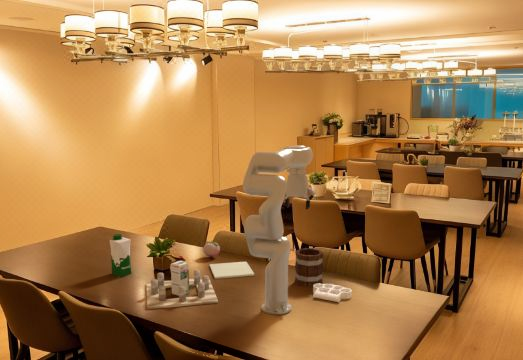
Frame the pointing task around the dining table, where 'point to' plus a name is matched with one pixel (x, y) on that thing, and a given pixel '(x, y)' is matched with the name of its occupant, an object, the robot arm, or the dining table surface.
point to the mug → (308, 267)
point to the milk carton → (120, 255)
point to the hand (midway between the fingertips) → (297, 208)
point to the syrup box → (179, 276)
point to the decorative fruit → (211, 249)
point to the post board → (175, 301)
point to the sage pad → (231, 270)
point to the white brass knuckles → (331, 292)
